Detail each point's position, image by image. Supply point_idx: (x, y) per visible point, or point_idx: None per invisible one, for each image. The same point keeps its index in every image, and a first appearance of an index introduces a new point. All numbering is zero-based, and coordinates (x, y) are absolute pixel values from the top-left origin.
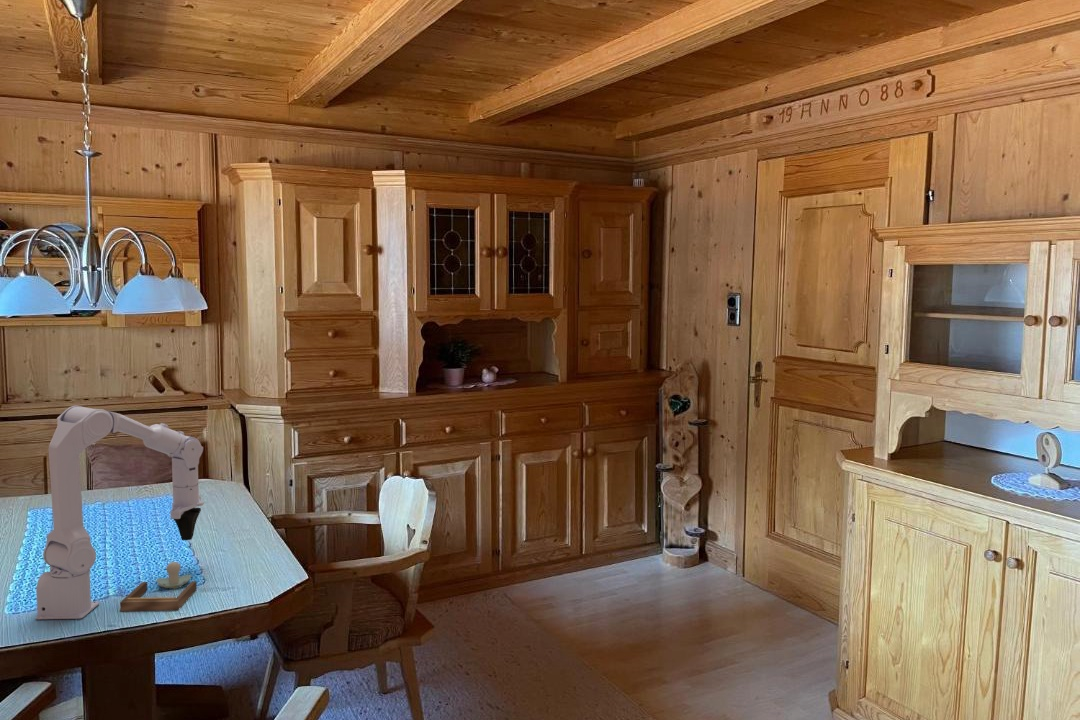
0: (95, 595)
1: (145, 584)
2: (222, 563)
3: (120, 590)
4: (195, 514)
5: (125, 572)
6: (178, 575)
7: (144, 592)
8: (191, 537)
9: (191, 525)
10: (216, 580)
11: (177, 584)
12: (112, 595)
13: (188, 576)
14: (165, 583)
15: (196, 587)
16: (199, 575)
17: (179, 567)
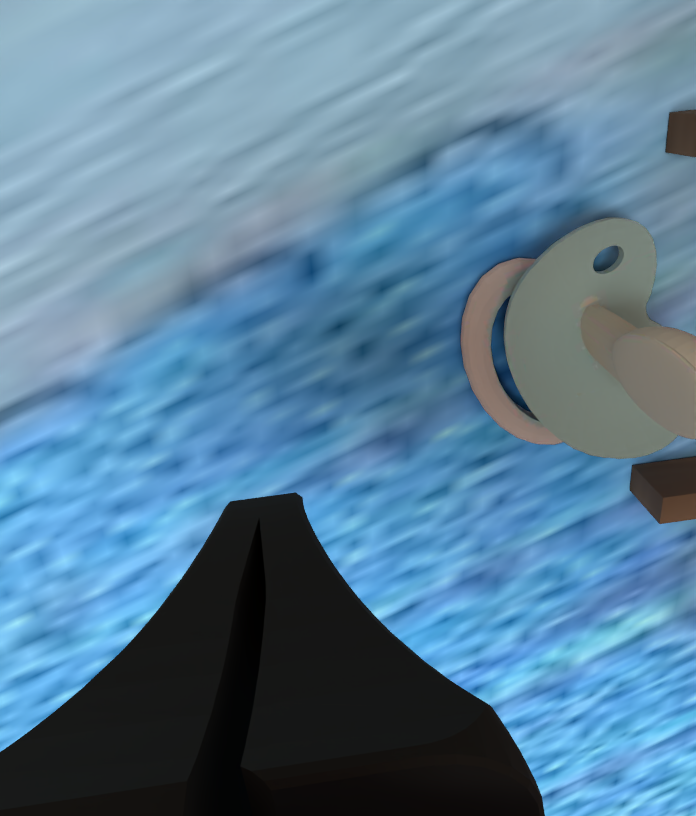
0: (666, 672)
1: (685, 489)
2: (10, 167)
3: (609, 602)
4: (448, 742)
5: None
6: (623, 323)
7: (677, 461)
8: (279, 503)
9: (364, 609)
10: (457, 20)
11: (628, 296)
12: (681, 601)
13: (549, 260)
14: (615, 388)
15: (684, 112)
16: (340, 244)
17: (681, 332)
